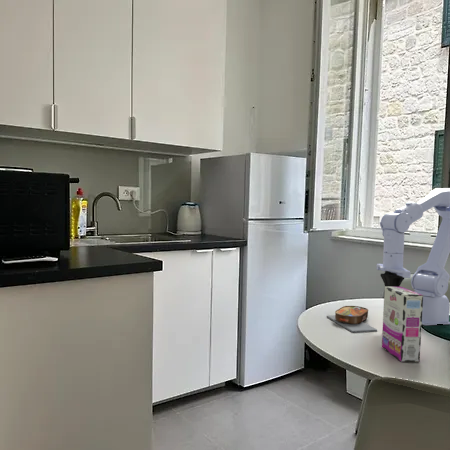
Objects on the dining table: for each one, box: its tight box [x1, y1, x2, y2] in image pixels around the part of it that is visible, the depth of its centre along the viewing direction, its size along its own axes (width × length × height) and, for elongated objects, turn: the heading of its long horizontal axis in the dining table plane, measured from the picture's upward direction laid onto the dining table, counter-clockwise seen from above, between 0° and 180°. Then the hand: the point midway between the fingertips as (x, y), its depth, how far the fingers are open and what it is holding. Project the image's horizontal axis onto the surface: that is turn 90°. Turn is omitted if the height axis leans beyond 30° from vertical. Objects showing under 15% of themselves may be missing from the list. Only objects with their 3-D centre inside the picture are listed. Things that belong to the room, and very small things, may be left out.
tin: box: [334, 305, 369, 324], centre depth 141 cm, size 15×3×8 cm
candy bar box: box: [381, 286, 423, 363], centre depth 109 cm, size 11×5×16 cm, turn 5°
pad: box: [326, 314, 378, 334], centre depth 136 cm, size 8×17×1 cm, turn 13°
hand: (391, 297), depth 132 cm, fingers closed
